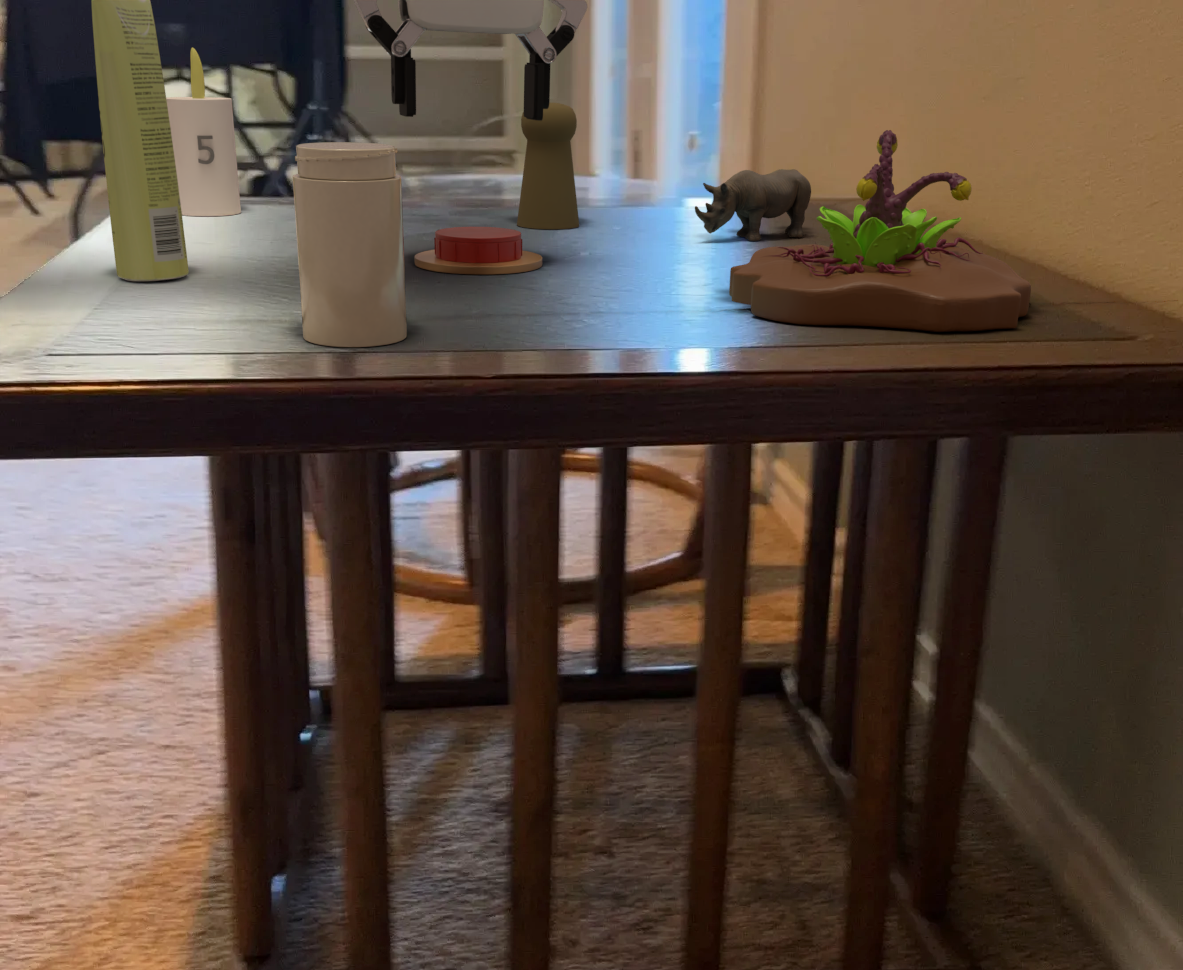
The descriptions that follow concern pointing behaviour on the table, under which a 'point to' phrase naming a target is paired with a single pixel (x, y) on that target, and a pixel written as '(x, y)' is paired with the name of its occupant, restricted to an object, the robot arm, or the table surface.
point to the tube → (137, 143)
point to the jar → (350, 244)
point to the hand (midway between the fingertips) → (471, 117)
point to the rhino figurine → (758, 201)
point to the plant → (884, 268)
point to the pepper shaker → (549, 171)
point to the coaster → (478, 264)
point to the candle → (204, 149)
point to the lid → (478, 244)
